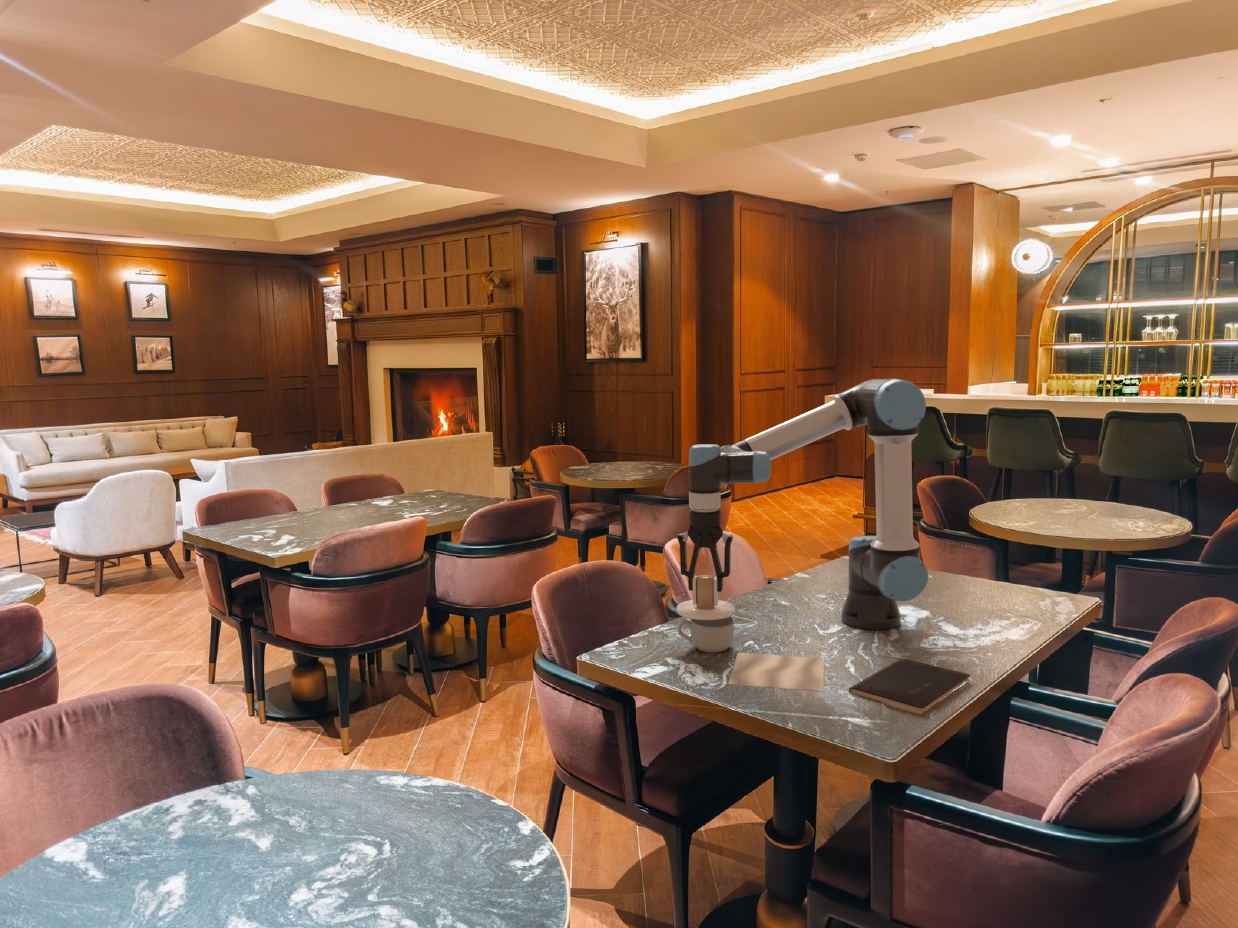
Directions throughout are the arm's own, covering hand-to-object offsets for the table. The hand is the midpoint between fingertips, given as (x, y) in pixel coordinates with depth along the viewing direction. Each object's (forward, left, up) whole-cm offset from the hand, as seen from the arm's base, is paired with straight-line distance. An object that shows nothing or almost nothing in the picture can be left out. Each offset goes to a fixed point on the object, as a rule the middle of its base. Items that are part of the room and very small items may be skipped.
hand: (705, 603), depth 200 cm
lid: (0, 0, -2) cm, 2 cm away
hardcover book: (-46, +16, -12) cm, 50 cm away
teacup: (0, 0, -12) cm, 12 cm away
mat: (-18, +12, -11) cm, 24 cm away
